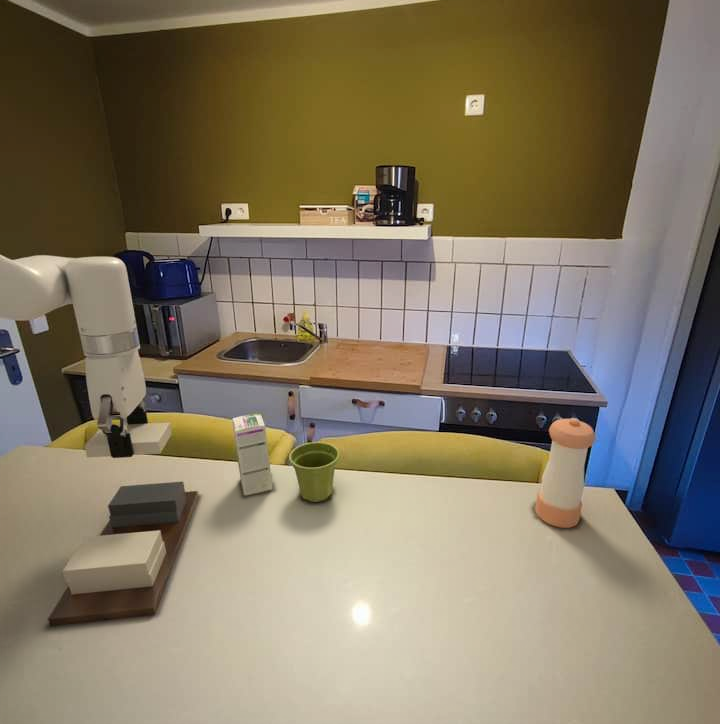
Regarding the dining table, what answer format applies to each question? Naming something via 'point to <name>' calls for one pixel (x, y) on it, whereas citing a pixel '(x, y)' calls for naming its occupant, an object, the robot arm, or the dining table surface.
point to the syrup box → (252, 453)
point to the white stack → (115, 562)
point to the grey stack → (147, 504)
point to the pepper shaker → (564, 473)
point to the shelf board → (132, 599)
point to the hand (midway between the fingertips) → (131, 443)
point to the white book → (133, 440)
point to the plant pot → (314, 469)
